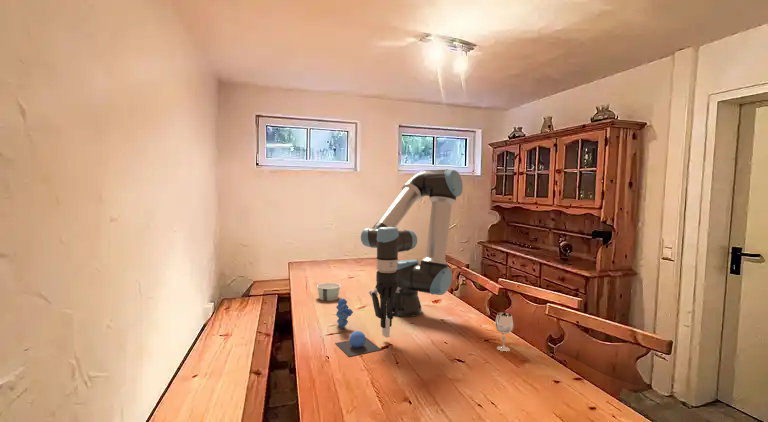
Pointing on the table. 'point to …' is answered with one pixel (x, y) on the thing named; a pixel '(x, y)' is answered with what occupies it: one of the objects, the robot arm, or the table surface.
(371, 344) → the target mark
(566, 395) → the table surface
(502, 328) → the wineglass
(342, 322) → the grapes
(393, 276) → the robot arm
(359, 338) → the ball
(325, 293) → the food container
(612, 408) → the table surface
